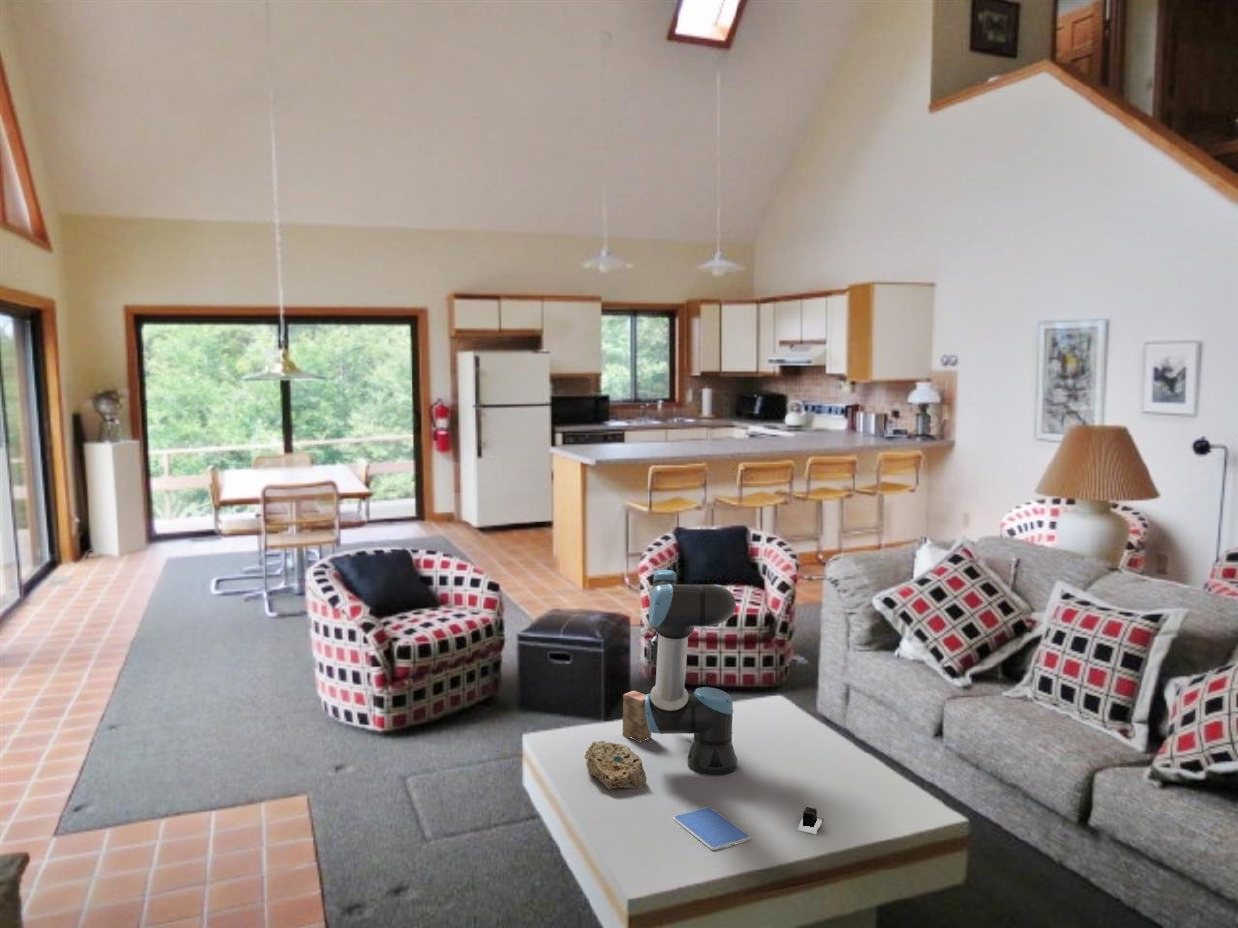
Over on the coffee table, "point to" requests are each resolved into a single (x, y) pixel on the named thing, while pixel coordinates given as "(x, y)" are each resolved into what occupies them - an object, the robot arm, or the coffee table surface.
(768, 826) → the coffee table surface
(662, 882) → the coffee table surface
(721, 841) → the tablet computer
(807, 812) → the black block
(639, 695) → the light brown wooden block
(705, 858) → the coffee table surface
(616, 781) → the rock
